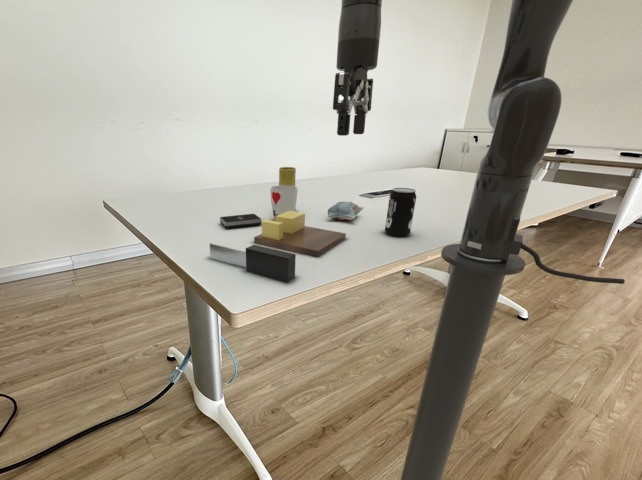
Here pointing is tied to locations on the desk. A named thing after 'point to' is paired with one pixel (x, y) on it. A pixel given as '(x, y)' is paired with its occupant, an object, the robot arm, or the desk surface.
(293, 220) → the butter
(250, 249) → the knife
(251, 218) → the external hard drive
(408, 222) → the beverage can
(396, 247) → the desk surface
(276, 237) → the butter slice
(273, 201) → the cup
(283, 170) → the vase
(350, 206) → the packaged food
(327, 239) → the board
